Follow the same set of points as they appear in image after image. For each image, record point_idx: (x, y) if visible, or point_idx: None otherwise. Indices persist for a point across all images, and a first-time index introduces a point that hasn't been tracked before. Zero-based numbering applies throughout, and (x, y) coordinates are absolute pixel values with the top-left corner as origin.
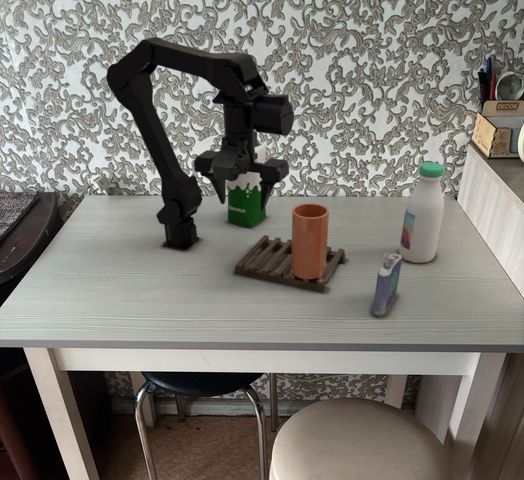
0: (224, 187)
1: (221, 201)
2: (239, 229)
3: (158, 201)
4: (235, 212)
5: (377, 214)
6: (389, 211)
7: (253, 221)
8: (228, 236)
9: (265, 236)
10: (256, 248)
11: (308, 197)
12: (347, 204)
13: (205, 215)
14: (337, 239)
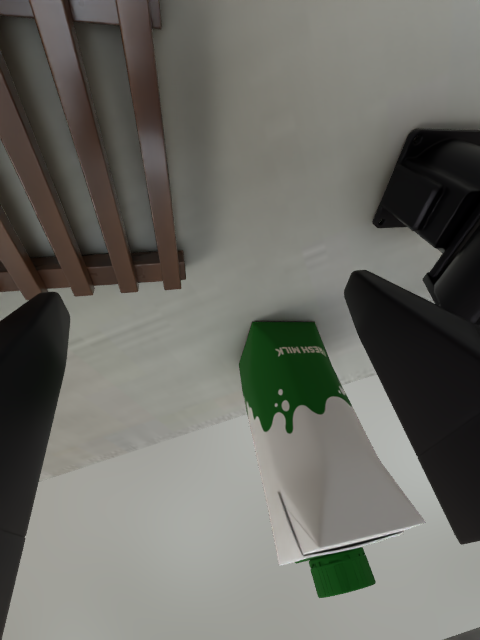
0: (390, 376)
1: (372, 278)
2: (277, 307)
3: None
4: (302, 343)
5: None
6: None
7: (251, 338)
8: (294, 269)
9: (171, 282)
10: (150, 196)
11: (196, 430)
12: (118, 440)
13: None
14: None
